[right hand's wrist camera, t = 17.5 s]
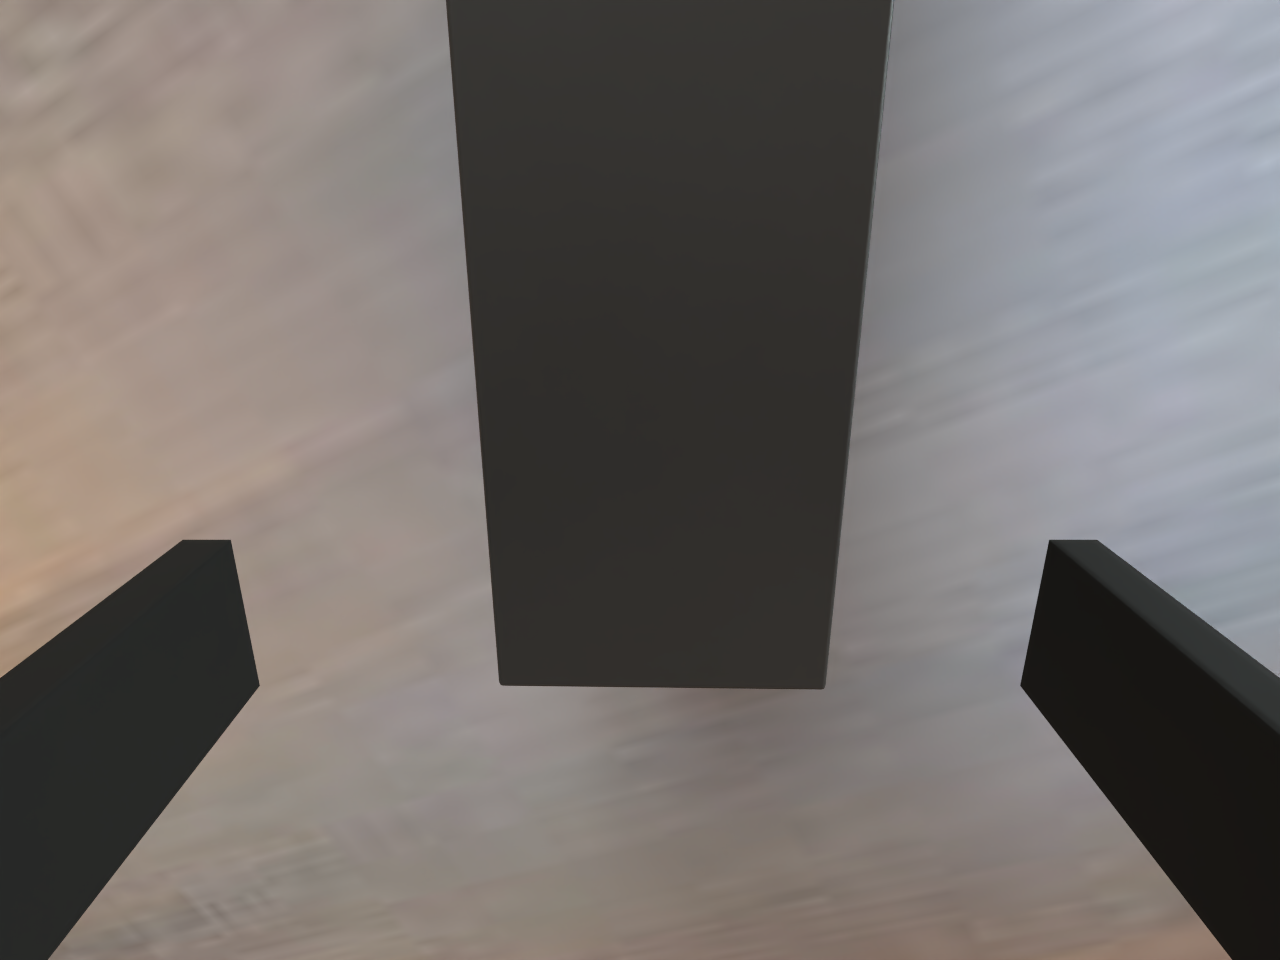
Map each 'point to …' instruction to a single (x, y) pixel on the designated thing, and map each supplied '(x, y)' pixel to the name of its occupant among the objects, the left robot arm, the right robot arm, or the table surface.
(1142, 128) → the table surface
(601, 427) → the box
